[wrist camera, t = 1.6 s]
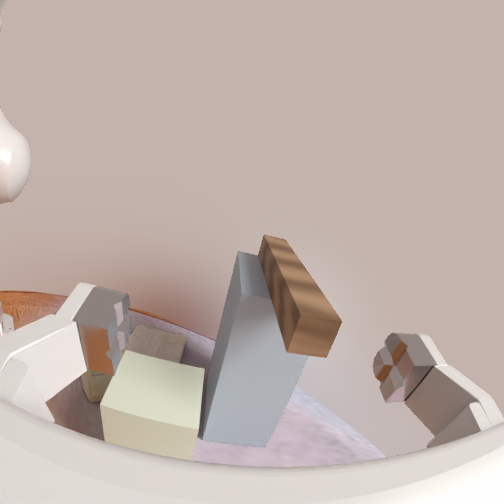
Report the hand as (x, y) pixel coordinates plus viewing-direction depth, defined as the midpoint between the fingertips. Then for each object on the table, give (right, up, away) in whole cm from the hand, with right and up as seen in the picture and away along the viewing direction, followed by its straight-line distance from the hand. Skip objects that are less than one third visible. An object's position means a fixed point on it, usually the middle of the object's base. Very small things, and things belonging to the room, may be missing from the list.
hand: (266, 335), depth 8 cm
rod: (+3, -2, +27) cm, 27 cm away
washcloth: (-20, -19, +46) cm, 54 cm away
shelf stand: (-4, -25, +38) cm, 46 cm away
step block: (-14, -26, +24) cm, 38 cm away
